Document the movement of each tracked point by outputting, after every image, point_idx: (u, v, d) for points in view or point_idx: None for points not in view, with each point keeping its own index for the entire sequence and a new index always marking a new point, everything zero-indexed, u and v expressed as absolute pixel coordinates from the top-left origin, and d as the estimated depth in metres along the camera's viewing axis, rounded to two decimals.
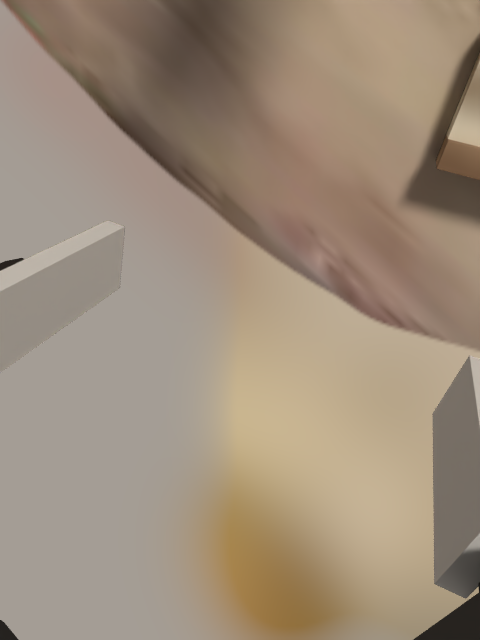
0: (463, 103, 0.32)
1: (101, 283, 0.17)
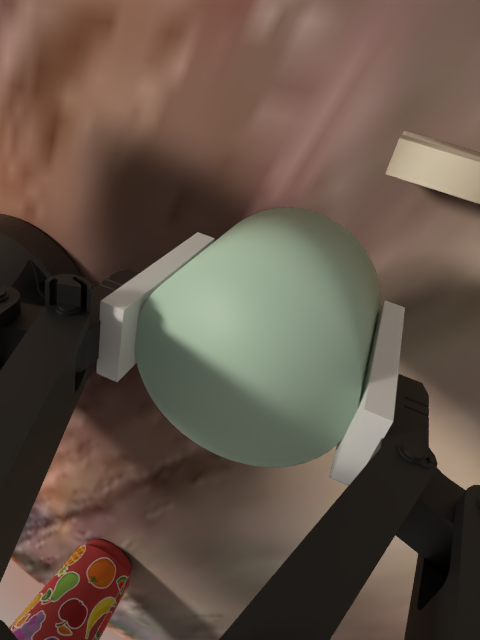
0: None
1: None
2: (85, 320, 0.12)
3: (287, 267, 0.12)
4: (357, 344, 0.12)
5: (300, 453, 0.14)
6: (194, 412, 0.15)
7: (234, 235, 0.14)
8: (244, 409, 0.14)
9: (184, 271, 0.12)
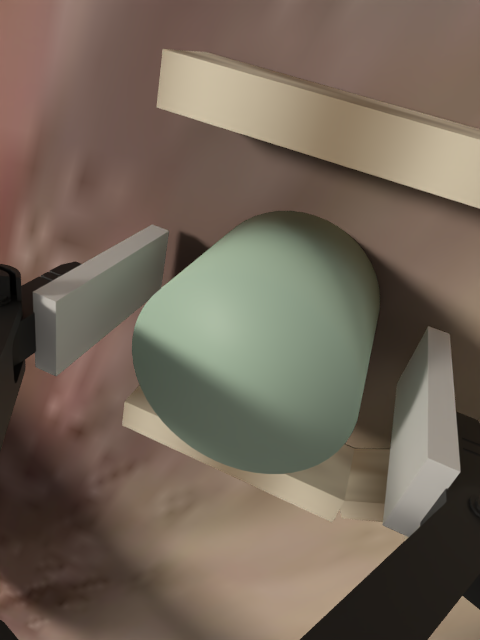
0: None
1: (146, 285, 0.18)
2: (17, 309, 0.12)
3: (286, 273, 0.12)
4: (357, 350, 0.12)
5: (300, 460, 0.14)
6: (193, 418, 0.15)
7: (233, 239, 0.14)
8: (243, 416, 0.14)
9: (182, 277, 0.12)
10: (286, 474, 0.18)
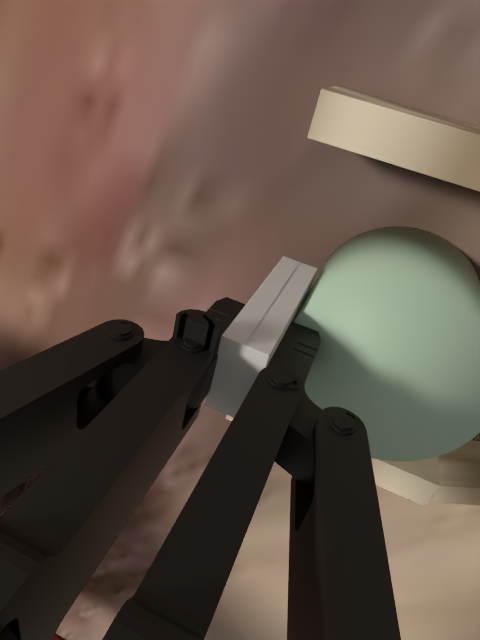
0: None
1: None
2: (206, 360, 0.12)
3: (438, 285, 0.14)
4: None
5: (432, 448, 0.16)
6: None
7: (368, 254, 0.16)
8: (382, 410, 0.16)
9: (344, 288, 0.14)
10: (385, 462, 0.20)
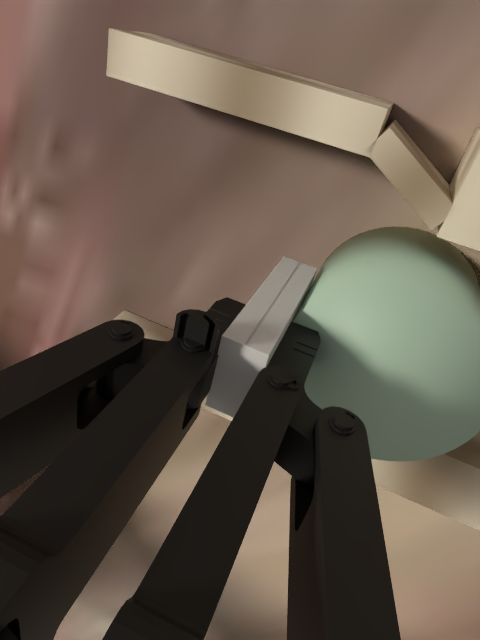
0: (441, 512, 0.21)
1: None
2: (206, 360, 0.12)
3: (439, 287, 0.14)
4: None
5: (427, 449, 0.16)
6: None
7: (370, 253, 0.16)
8: (379, 409, 0.16)
9: (346, 287, 0.14)
10: None
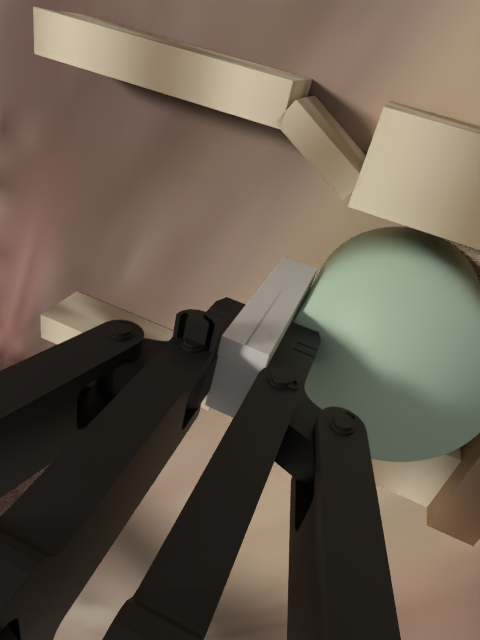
0: (375, 483, 0.21)
1: None
2: (206, 360, 0.12)
3: (441, 288, 0.14)
4: None
5: (428, 450, 0.16)
6: None
7: (371, 253, 0.16)
8: (380, 410, 0.16)
9: (347, 287, 0.14)
10: None
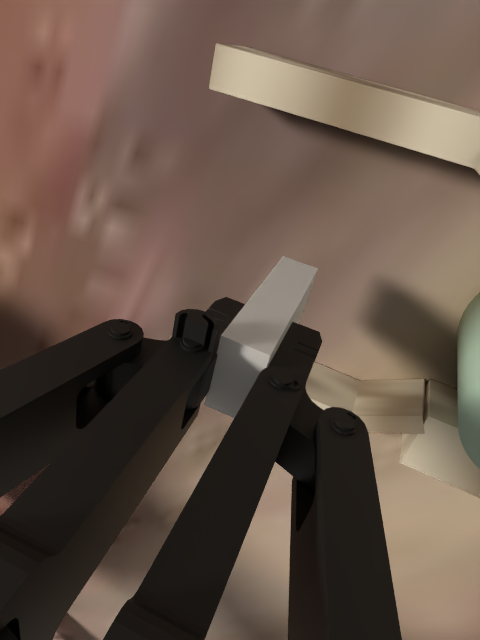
0: None
1: None
2: (205, 359, 0.12)
3: None
4: None
5: None
6: None
7: None
8: None
9: None
10: None
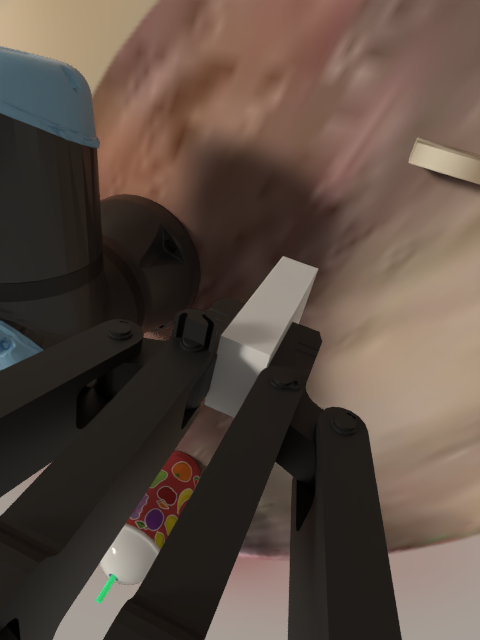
0: None
1: None
2: (205, 360, 0.12)
3: None
4: None
5: None
6: None
7: None
8: None
9: None
10: None
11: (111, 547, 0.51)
